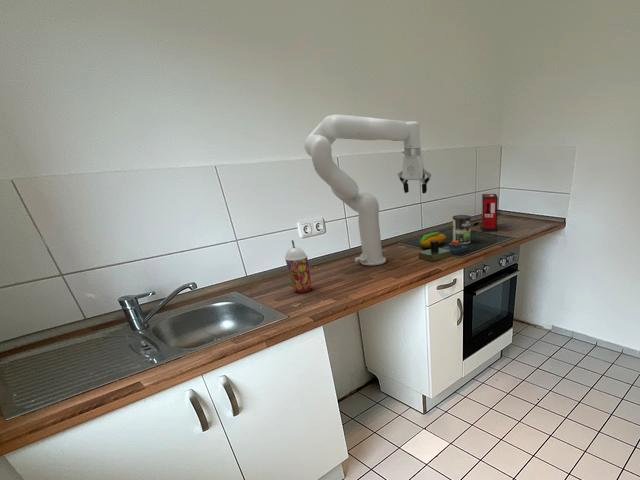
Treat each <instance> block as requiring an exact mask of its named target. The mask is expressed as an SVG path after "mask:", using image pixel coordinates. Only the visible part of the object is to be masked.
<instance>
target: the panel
mask: <svg viewBox="0 0 640 480" xmlns="http://www.w3.org/2000/svg"><path fill="white" fill-rule="evenodd" d="M451 256H452V254H451V250H447V249H443V247H439V251H438V252H431V248H428V249H425V250H421V251H419V252H418V259H421V260H425V261H428V262H432V263H433V262H437V261H440V260H443V259H446V258H449V257H450V258H451Z"/></svg>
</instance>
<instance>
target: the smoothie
mask: <svg viewBox="0 0 640 480" xmlns="http://www.w3.org/2000/svg"><path fill="white" fill-rule="evenodd" d="M291 244H292V247H291V248H289V249H288V250H287V251H286V253H285V257H284V260H285V263H286V266H287V270H288V273H289V276H290V280H291V283H292V286H293V289H294V290H295V291H296V292H297V293H307V292H309V291H311V287H312V281H311V273H310V272H311V271H310V266H309V259H308V254H306V252H305V251H304V250H303V249H302V248H300V247H296V246H295V241H294V240H293V239H292V240H291Z"/></svg>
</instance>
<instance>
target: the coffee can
mask: <svg viewBox="0 0 640 480" xmlns="http://www.w3.org/2000/svg"><path fill="white" fill-rule="evenodd" d="M471 222H472V216H471V215H468V214H458V215H453V216H452V241H453V240H458V241H459V243H461V244H462V245H468V244H470V243H471V241H472V240H471V235H472V233H471V228H472V227H471V226H472V225H471V224H472V223H471Z"/></svg>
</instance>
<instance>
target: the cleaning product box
mask: <svg viewBox="0 0 640 480" xmlns="http://www.w3.org/2000/svg"><path fill="white" fill-rule="evenodd" d="M498 201H499V196H498V194H497V193H482V194H481V231H482V232H497V229H498V228H497V226H498V203H499V202H498Z"/></svg>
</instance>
